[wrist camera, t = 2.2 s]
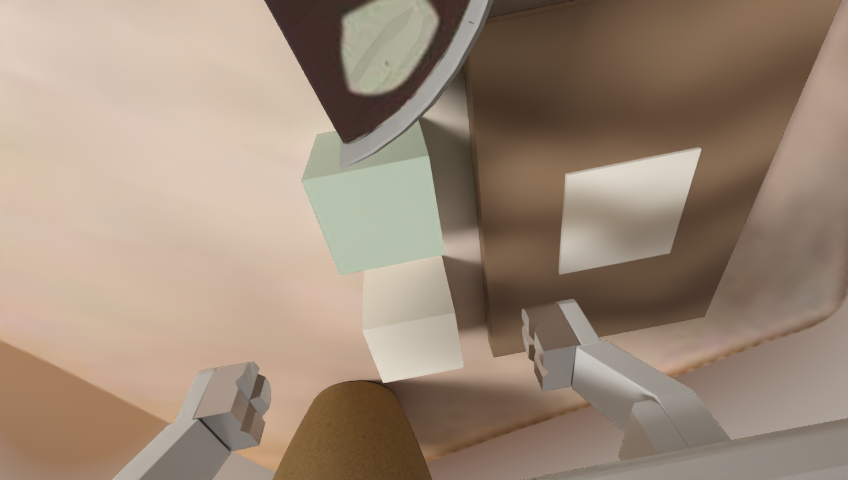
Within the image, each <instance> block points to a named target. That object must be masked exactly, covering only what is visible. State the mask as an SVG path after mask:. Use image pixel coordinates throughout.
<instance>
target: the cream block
mask: <svg viewBox="0 0 848 480" xmlns="http://www.w3.org/2000/svg"><path fill="white" fill-rule="evenodd" d="M362 332H363V334H364V337H365V339H366V342H367V344H368V346H369V349H370V351H371V354H372V356H373V359H374V361H375V364H376V366H377V369H378V371H379V374H380V376H381V379H382V381H383V383H387V382H392V381H397V380H402V379H408V378H413V377H418V376H423V375H428V374H434V373H439V372H444V371H449V370H454V369H460V368H464V365H463V359H462V353H461V346H460V340H459V334H458V328H457V322H456V316H455V311H454V306H453V302H452V298H451V294H450V289H449V285H448V281H447V277H446V272H445V268H444V264H443V259H442V255H441V256H436V257H431V258H426V259H421V260H416V261H411V262H406V263H401V264H396V265H390V266H385V267H380V268H375V269H370V270H365V271H364V286H363V317H362Z"/></svg>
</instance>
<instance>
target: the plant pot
mask: <svg viewBox="0 0 848 480" xmlns="http://www.w3.org/2000/svg"><path fill="white" fill-rule="evenodd" d="M273 480H432V478H431V475H430V472H429V470H428V467H427V464H426V461H425V459H424V456H423V454H422V452H421V449H420V447H419V444H418V442H417V439H416V437H415V434H414V432H413V430H412V428H411V426H410V424H409V421H408V419H407V417H406V415H405V413H404V411H403V409H402V407H401V405H400V403H399V401H398V399H397V397H396V395H395V394H394V393H393V392H392V391H391V390H390V389H388V388H386V387H385V386H382V385H380V384H376V383H372V382H365V381H353V382H345V383H341V384H337V385H334V386H331V387H329V388H327V389H325V390H324V391H322V392H321V393H320V394H319V395H318V396H317V397H316V398H315V399H314V401H313V403H312V404H311V406H310V408H309V409H308V411H307V413H306V415H305V417H304V418H303V420H302V422H301V424H300V426H299V427H298V429H297V431H296V433H295V435H294V437H293V439H292V441H291V443H290V445H289V446H288V448H287V450H286V452H285V454H284V456H283V459H282V461H281V463H280V465H279V467H278V469H277V471H276V473H275V476H274V478H273Z"/></svg>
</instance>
